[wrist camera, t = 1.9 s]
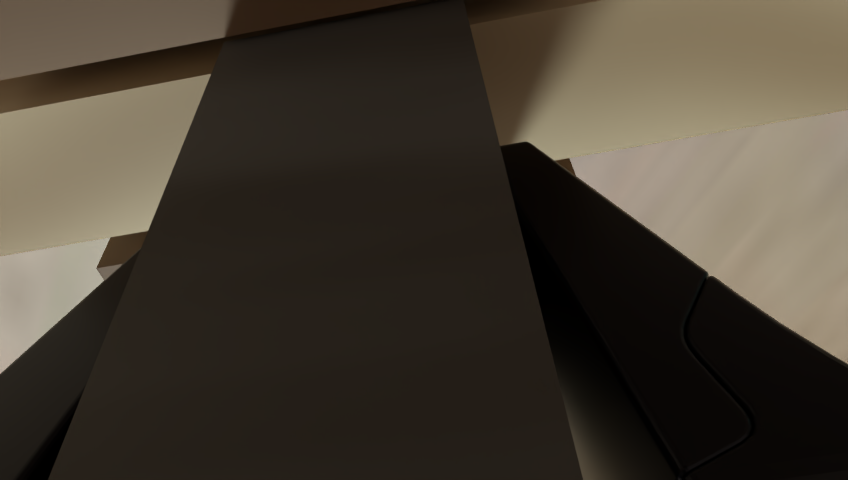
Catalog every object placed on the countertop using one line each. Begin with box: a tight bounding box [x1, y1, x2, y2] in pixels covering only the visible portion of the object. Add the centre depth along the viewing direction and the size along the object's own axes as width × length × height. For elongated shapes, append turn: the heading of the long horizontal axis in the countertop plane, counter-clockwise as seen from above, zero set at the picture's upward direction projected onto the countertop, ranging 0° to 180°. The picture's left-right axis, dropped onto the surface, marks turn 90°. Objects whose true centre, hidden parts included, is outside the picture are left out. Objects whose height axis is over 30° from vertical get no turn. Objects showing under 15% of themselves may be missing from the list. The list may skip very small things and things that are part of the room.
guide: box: [0, 0, 576, 281], centre depth 11 cm, size 5×8×2 cm
